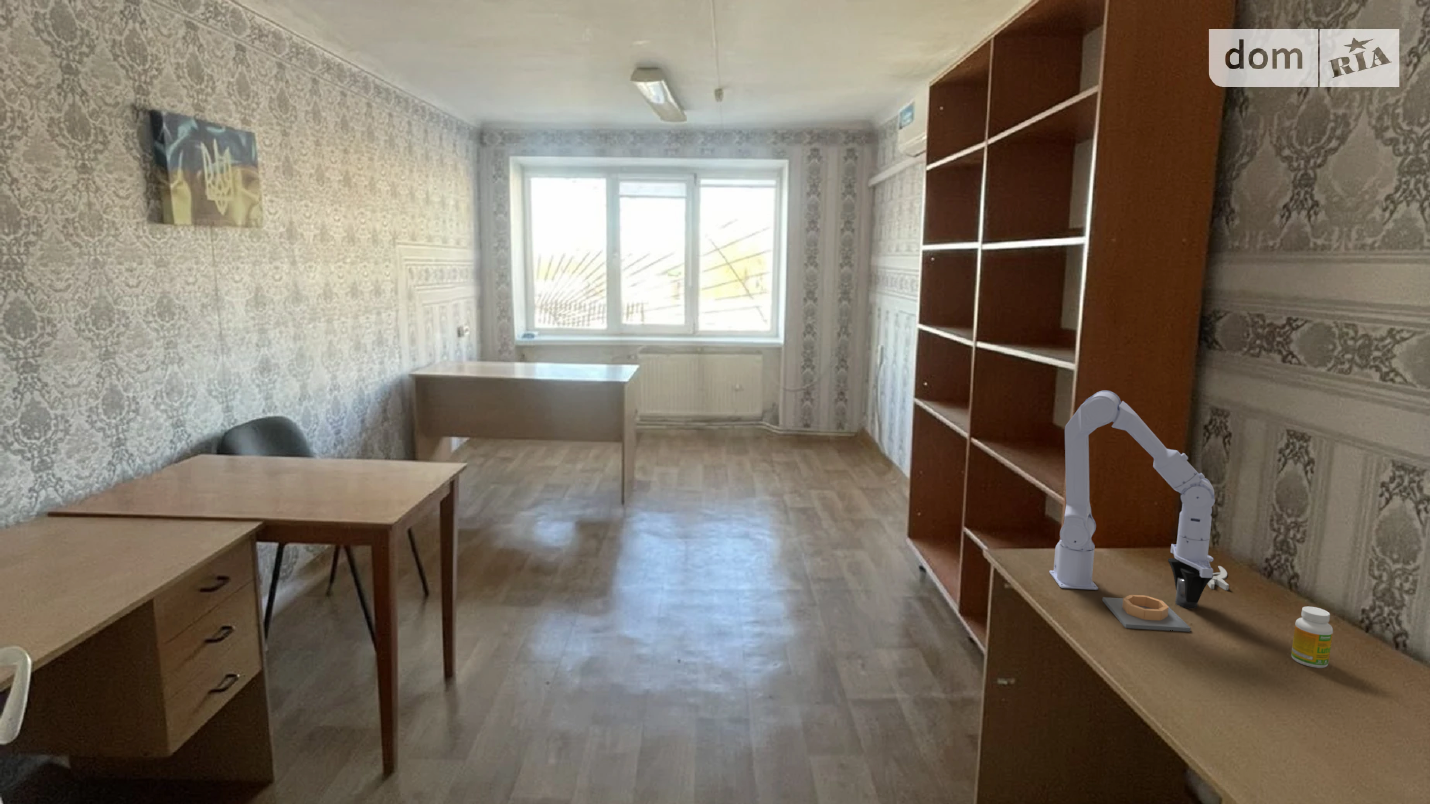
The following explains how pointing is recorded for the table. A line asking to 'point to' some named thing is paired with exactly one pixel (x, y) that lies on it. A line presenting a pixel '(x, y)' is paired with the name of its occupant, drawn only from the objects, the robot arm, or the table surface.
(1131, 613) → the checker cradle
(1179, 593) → the cell
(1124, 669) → the table surface
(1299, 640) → the supplement bottle
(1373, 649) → the table surface
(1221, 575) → the pliers
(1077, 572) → the robot arm
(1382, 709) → the table surface
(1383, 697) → the table surface
